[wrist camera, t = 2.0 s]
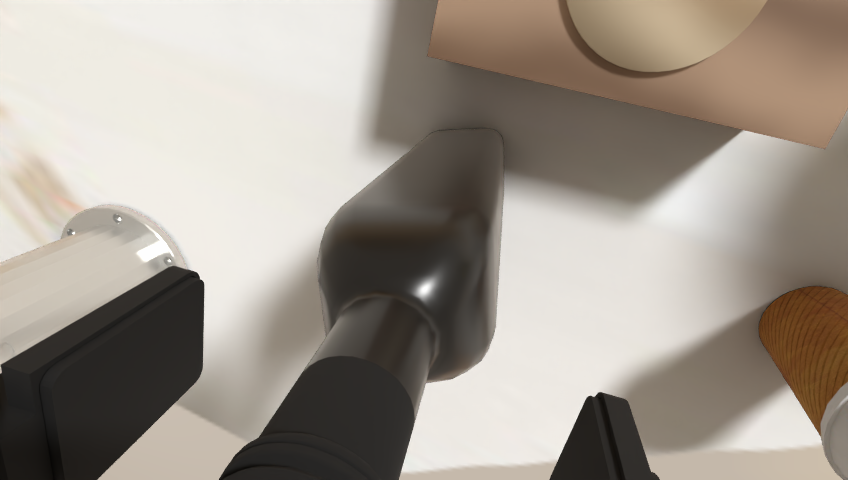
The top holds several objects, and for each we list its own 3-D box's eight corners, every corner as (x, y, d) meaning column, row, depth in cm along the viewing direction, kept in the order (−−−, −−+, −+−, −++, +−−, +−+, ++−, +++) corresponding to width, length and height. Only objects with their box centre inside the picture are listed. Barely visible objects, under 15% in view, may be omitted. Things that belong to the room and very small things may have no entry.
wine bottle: (429, 205, 35) (121, 724, 7) (424, 130, 33) (-21, 453, 5) (504, 204, 34) (471, 808, 6) (503, 126, 32) (453, 508, 4)
